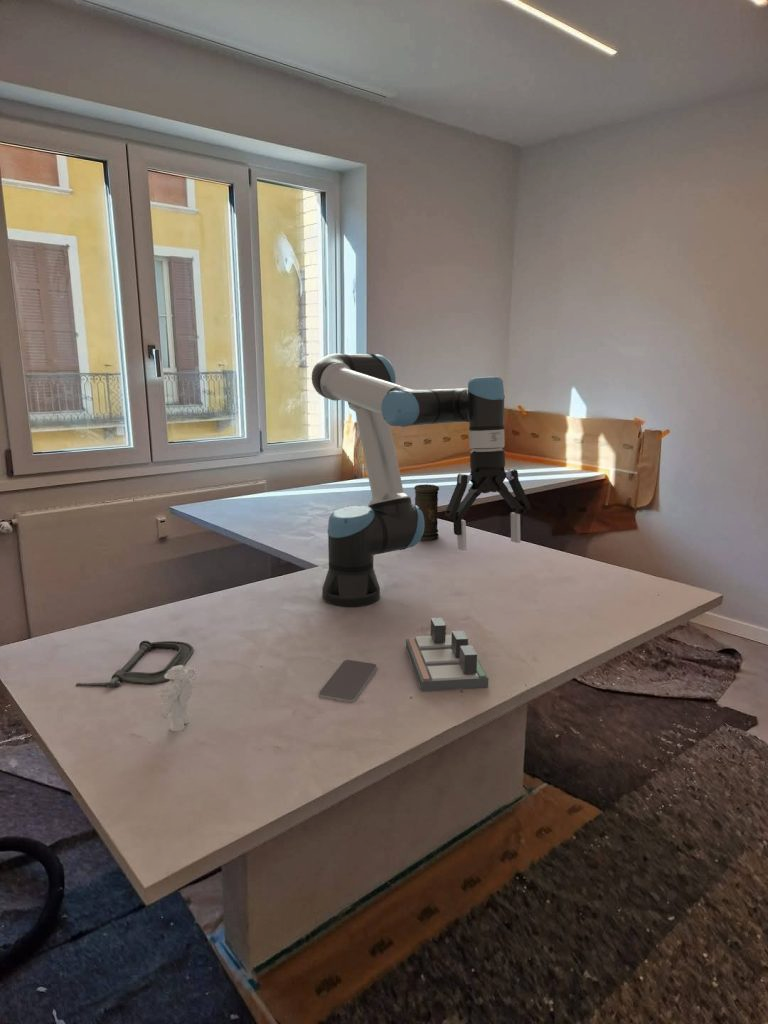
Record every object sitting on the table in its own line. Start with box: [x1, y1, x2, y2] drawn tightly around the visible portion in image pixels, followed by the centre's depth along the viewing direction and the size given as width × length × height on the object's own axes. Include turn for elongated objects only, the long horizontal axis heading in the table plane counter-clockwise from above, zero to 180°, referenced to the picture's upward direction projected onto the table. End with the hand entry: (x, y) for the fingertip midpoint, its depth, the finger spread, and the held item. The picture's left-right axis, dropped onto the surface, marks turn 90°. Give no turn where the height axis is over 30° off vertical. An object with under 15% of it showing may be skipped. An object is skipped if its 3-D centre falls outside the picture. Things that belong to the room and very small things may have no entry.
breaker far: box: [430, 617, 447, 643], centre depth 140 cm, size 2×4×4 cm, turn 7°
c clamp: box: [75, 640, 195, 689], centre depth 133 cm, size 20×17×3 cm
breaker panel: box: [405, 634, 489, 692], centre depth 134 cm, size 13×19×2 cm
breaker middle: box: [451, 630, 469, 658], centre depth 134 cm, size 2×4×4 cm, turn 7°
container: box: [414, 483, 440, 541], centre depth 224 cm, size 9×9×18 cm
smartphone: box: [318, 659, 378, 703], centre depth 128 cm, size 7×1×15 cm
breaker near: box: [459, 644, 478, 674], centre depth 127 cm, size 2×4×4 cm, turn 7°
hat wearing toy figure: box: [158, 665, 197, 732], centre depth 111 cm, size 9×4×12 cm, turn 168°
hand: (489, 545), depth 145 cm, fingers open, 13 cm apart
